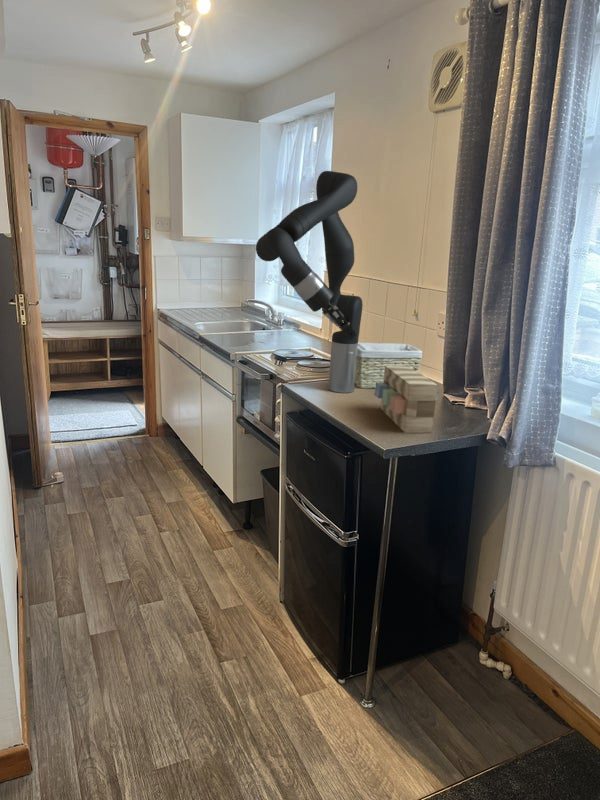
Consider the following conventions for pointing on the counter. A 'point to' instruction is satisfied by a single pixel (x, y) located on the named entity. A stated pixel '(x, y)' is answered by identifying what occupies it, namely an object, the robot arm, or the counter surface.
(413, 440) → the counter surface
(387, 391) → the green button
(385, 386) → the blue button
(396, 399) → the terracotta button
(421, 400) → the block
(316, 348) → the counter surface
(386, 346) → the storage basket
